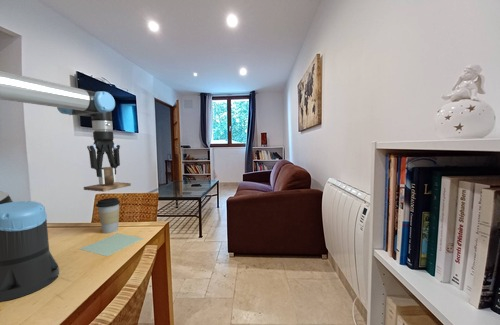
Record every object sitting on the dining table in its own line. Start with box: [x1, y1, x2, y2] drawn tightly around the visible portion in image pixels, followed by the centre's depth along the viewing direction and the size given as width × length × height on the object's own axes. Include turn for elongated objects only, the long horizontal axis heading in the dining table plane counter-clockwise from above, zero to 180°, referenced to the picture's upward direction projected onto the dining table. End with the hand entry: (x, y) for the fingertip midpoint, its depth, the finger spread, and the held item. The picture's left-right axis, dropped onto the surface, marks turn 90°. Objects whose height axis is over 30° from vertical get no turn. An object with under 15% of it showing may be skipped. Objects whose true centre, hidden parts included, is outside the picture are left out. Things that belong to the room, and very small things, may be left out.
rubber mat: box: [79, 233, 145, 257], centre depth 90 cm, size 16×16×1 cm
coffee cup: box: [95, 197, 121, 234], centre depth 103 cm, size 9×9×15 cm
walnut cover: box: [83, 166, 132, 192], centre depth 101 cm, size 13×13×9 cm
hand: (107, 182), depth 101 cm, fingers closed on walnut cover, 4 cm apart
